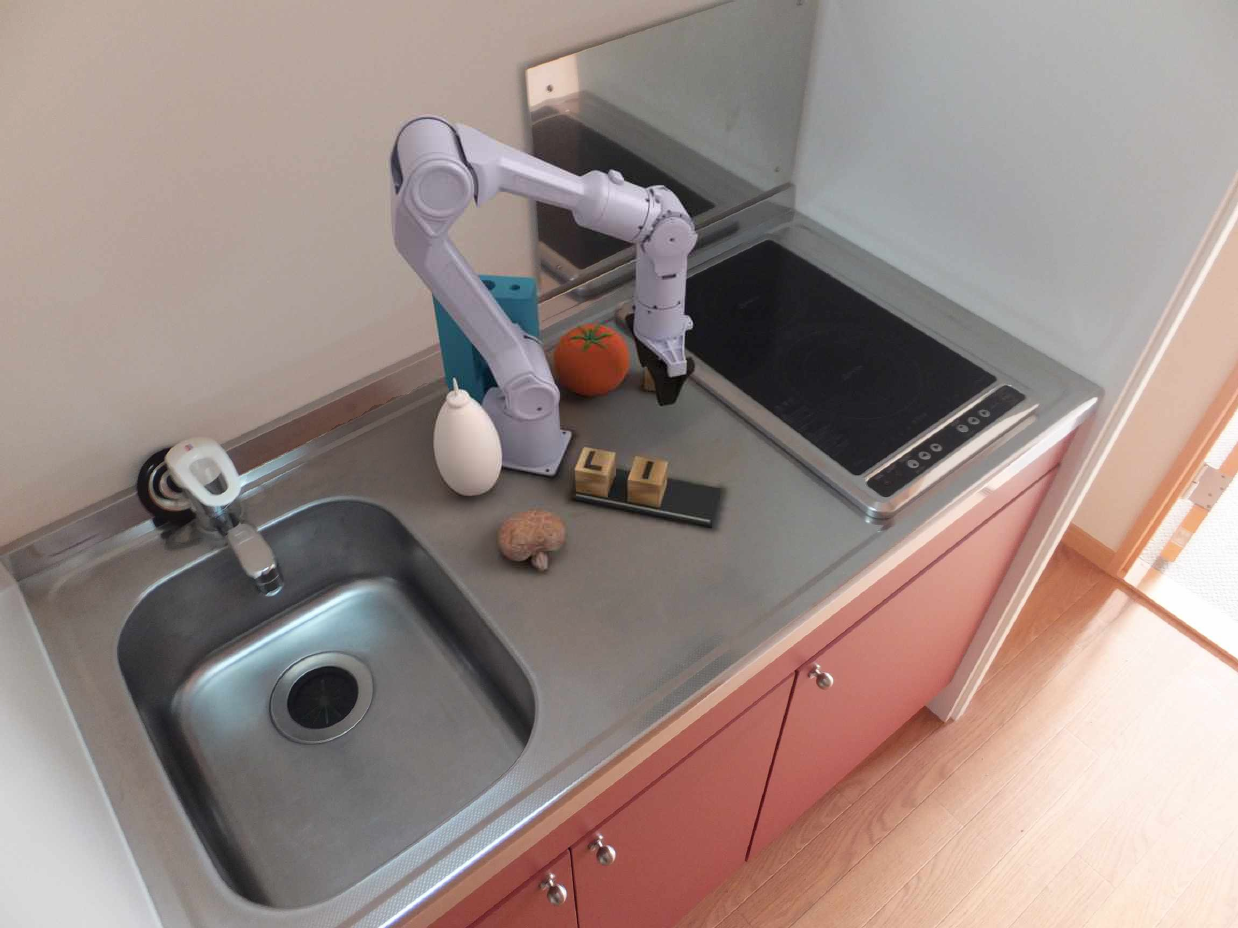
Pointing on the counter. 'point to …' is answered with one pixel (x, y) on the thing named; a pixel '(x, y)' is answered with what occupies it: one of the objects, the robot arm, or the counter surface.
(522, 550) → the mushroom
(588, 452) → the tile
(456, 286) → the robot arm
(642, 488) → the tile
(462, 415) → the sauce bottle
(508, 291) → the block
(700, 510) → the black tile rack
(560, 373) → the tomato
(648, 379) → the tile
